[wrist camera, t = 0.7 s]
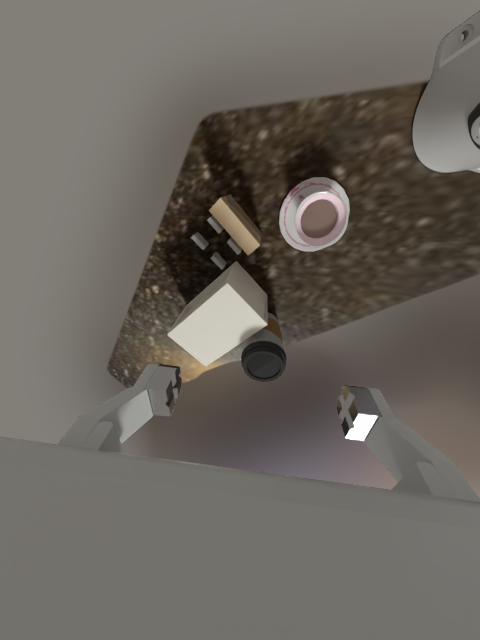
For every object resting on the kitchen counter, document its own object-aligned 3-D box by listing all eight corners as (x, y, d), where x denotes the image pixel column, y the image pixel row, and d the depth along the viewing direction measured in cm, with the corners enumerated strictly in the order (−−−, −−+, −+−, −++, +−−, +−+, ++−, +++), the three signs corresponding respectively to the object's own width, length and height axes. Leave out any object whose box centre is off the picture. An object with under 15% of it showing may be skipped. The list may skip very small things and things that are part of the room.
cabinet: (213, 215, 41) (196, 225, 31) (277, 287, 47) (279, 316, 37) (156, 277, 49) (126, 301, 39) (216, 332, 55) (205, 366, 45)
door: (233, 191, 39) (224, 193, 30) (264, 229, 42) (264, 241, 33) (220, 204, 40) (208, 210, 32) (251, 241, 43) (248, 255, 34)
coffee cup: (239, 321, 53) (230, 365, 40) (265, 299, 49) (264, 340, 36) (263, 342, 55) (262, 390, 42) (289, 323, 52) (297, 368, 39)
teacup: (362, 216, 39) (377, 221, 34) (306, 263, 44) (311, 274, 39) (320, 158, 35) (329, 153, 30) (265, 217, 41) (264, 222, 35)
